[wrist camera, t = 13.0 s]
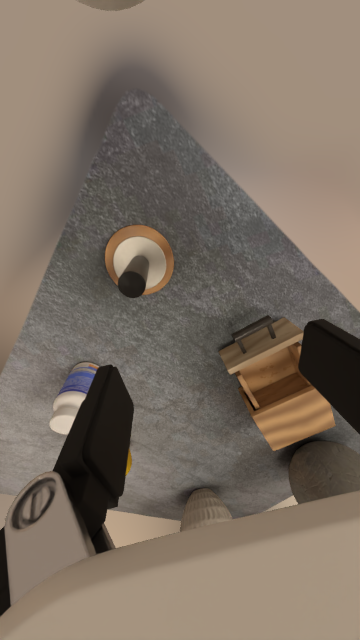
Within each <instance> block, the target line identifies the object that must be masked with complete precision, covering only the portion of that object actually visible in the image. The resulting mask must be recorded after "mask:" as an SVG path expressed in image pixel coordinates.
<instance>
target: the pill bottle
mask: <svg viewBox="0 0 360 640" xmlns="http://www.w3.org/2000/svg"><path fill="white" fill-rule="evenodd" d="M98 367H99V366H98V365H96V364H93V363H89V362H84V363H79V364H77V365H76V366H75V367H74V368H73V369H72V371H71V372H70V374H69V376H68V378H67V380H66V381H65V383H64V385H63V387H62V389H61V390H60V392H59V394H58V396H57V397H56V399H55V401H54V404H53V409H54V412H55V413H54V414H53V416H52V418H51V420H50V427H51V429H52V430H53V431H55V432H57V433H61V434H69V431H70V429H71V427H72V424H73V422H74V419H75V417H76V415H77V412H78V410H79V408H80V405H81V403H82V402H83V400H85V397H86V395H87V393H88V390H89V388H90V385H91V383H92V381H93V378H94V376H95V373H96V371H97V369H98Z"/></svg>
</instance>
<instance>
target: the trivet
mask: <svg viewBox="0 0 360 640" xmlns="http://www.w3.org/2000/svg"><path fill="white" fill-rule="evenodd" d="M134 236H142V237H146V238H149V239H151V240H153V241H154V242H155V243H156V244H158V246H159V247H160V248H161V249H162V251H163V253H164V256H165V259H166V271H165V274H164V277H163V278H162V280H161V281H160V282H159V283H158V284H157V285H156V286H154V287H152V288H150V289H146V290H145V291H144V293H143V294H142V295H146V294H151V293H154V292H156V291H158V290H160V289H161V288H163V287H164V286H165V285H166V283H167V282H168V281H169V279H170V277H171V275H172V272H173V267H174V258H173V253H172V250H171V247H170V245H169V244H168V242H167V240H166V239H165V238H164V237H163V236H162V235H161V234H160V233H159V232H157V231H156V230H154V229H152V228H150V227H147V226H143V225H130V226H126V227H124V228H122V229H120V230H118V231H117V232H116V233H115V234H114V235H113V236H112V237H111V238H110V240H109V242H108V244H107V247H106V250H105V264H106V268H107V271H108V273H109V275H110V277H111V278H112V280H113V281H114V282H115V283H116V284H117V285H118V279H119V278H118V276H117V274H116V272H115V270H114V266H113V257H114V253H115V250H116V248H117V247H118V245H119V244H120V243H121V242H122V241H124V240H125V239H127V238H130V237H134Z"/></svg>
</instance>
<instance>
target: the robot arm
mask: <svg viewBox="0 0 360 640" xmlns="http://www.w3.org/2000/svg"><path fill="white" fill-rule="evenodd" d="M298 369H299V371H300V373H301V374H302V375H303V376H304V377H305V378H306V379H307V380H308V381H309V382H310V384H311V385H312V386H313V387H314V388H315V389H316V390H317V391H318V392H319V393H320V394H321V395H322V396H323V397H324V398H325V399H326V400H327V401H328V402H329V403H330V404H331V405H332V406H333V407H334V408H335V409H336V410H337V411H338V413H339V414H340V415H341V416H342V417H343V418H344V419H345V420H346V421H347V422H348V423H349V424H350V425H351V426H352V427H353V428H354V429H355V430H356V431H357V432H358V433H359V434H360V339H358V338H356V337H355V336H353V335H351V334H349V333H347V332H346V331H344V330H342V329H340V328H339V327H337V326H335V325H333V324H332V323H330V322H328V321H326V320H324V319H319V320H314V321H310V322H308V323H307V325H306V326H305V328H304V334H303V340H302V346H301V352H300V358H299V364H298ZM133 413H134V405H133V402H132V400H131V398H130V395H129V393H128V391H127V389H126V387H125V384H124V382H123V380H122V378H121V376H120V373H119V371H118V369H117V367H113V366H112V365H106V366H101V367H98V369H97V371H96V373H95V376H94V378H93V381H92V383H91V385H90V388H89V390H88V393H87V395H86V397H85V400H83V402H82V403H81V405H80V408H79V410H78V412H77V415H76V417H75V419H74V422H73V424H72V427H71V429H70V431H69V434H68V436H67V438H66V441H65V443H64V445H63V448H62V450H61V452H60V455H59V457H58V460H57V462H56V464H55V467H54V469H53V471H50V472H45V473H43V474H41V475H39V476H37V477H36V478H34V479H33V480H31V481H30V482H29V483H28V484H27V485H26V486H25V487H24V488H23V489H22V490H21V492H20V493H19V494H18V495H17V497H16V498H15V500H14V501H13V503H12V505H11V507H10V508H9V511H8V513H7V516H6V519H5V526H4V527H3V528H2V529H1V530H0V640H360V490H359V491H354V492H350V493H346V494H341V495H337V496H332V497H328V498H324V499H319V500H315V501H311V502H306V503H302V504H298V505H293V506H289V507H285V508H280V509H276V510H272V511H267V512H263V513H259V514H254V515H250V516H246V517H241V518H237V519H233V520H229V521H224V522H220V523H216V524H212V525H207V526H203V527H199V528H195V529H190V530H186V531H182V532H178V533H174V534H169V535H165V536H161V537H158V538H154V539H150V540H146V541H142V542H138V543H135V544H131V545H127V546H123V547H119V548H115V546H114V544H113V542H112V539H111V537H110V535H109V533H108V531H107V528H106V526H105V524H104V522H105V518H106V513H107V509H110V508H115V507H118V500H119V497H120V496H122V494H123V491H124V484H125V476H126V468H127V460H128V452H129V445H130V437H131V429H132V421H133Z"/></svg>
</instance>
